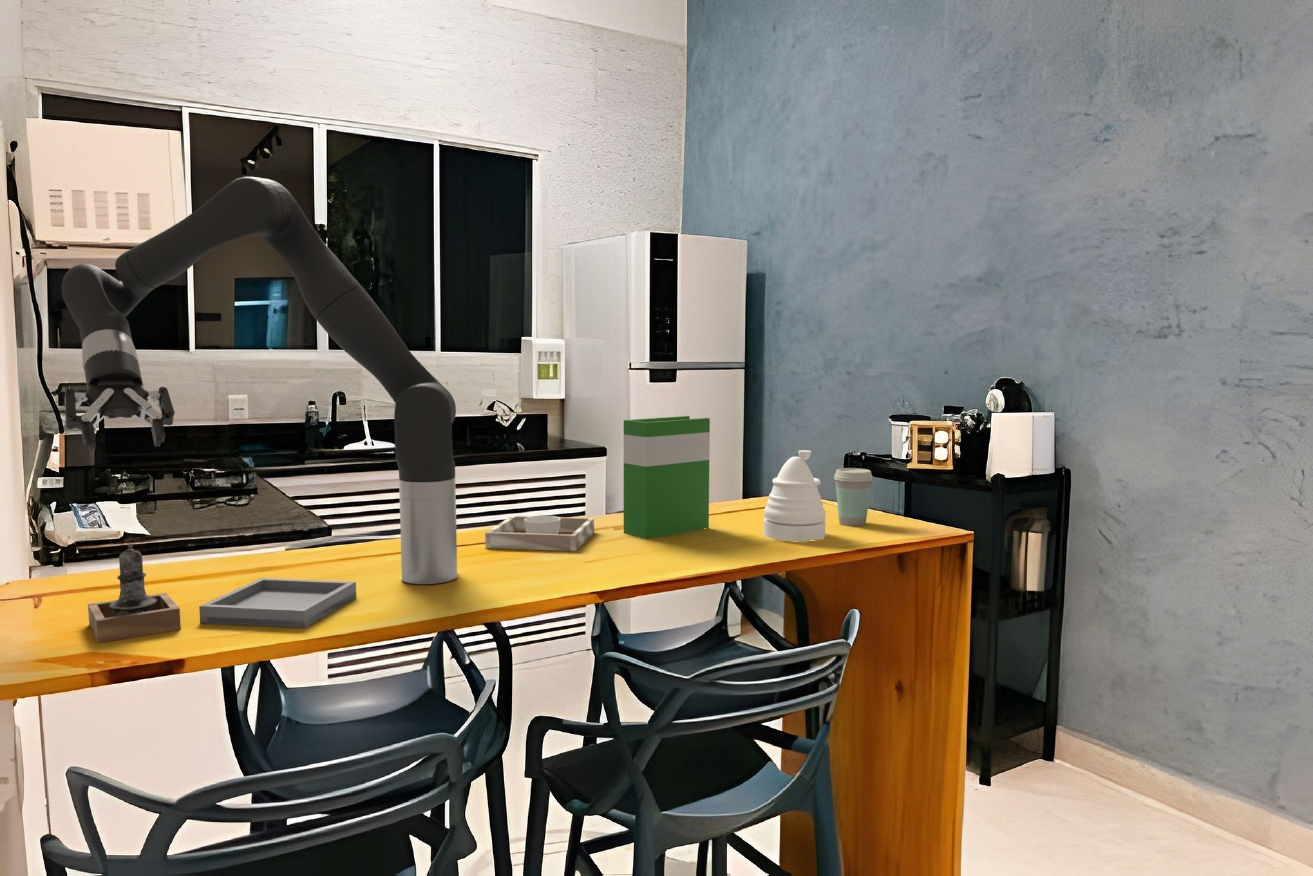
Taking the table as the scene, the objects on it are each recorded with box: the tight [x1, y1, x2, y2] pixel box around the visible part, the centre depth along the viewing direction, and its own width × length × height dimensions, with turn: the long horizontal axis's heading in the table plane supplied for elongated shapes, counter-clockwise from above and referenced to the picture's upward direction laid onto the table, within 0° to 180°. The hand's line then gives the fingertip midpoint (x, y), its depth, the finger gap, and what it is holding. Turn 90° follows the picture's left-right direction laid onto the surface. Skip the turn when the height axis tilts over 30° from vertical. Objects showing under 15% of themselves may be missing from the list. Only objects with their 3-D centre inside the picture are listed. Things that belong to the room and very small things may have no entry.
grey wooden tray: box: [484, 515, 595, 552], centre depth 190 cm, size 18×18×3 cm
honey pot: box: [762, 449, 826, 541], centre depth 194 cm, size 13×13×18 cm
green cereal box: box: [623, 415, 711, 540], centre depth 199 cm, size 18×7×24 cm, turn 130°
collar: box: [87, 592, 182, 644], centre depth 132 cm, size 10×10×3 cm
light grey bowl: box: [524, 515, 561, 534], centre depth 189 cm, size 10×10×5 cm
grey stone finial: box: [109, 543, 157, 616], centre depth 131 cm, size 6×6×12 cm
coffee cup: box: [833, 467, 874, 527], centre depth 208 cm, size 8×9×12 cm
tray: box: [198, 577, 357, 629], centre depth 140 cm, size 16×16×2 cm
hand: (126, 444), depth 139 cm, fingers open, 8 cm apart
